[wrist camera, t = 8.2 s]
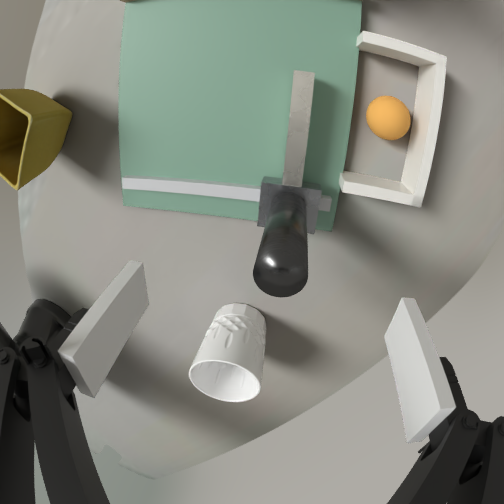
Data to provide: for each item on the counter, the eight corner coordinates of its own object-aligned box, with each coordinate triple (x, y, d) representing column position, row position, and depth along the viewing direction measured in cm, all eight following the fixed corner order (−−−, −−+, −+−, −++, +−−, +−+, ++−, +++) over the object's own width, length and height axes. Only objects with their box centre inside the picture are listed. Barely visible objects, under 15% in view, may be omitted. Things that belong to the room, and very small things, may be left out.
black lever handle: (260, 215, 28) (233, 296, 17) (274, 70, 21) (250, 46, 11) (313, 222, 28) (318, 309, 17) (333, 78, 21) (364, 60, 10)
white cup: (202, 326, 40) (180, 383, 31) (225, 288, 36) (203, 349, 27) (253, 350, 41) (240, 409, 32) (282, 316, 37) (274, 380, 28)
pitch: (128, 201, 32) (116, 211, 29) (132, -3, 20) (118, -9, 17) (330, 226, 30) (333, 238, 27) (359, -4, 18) (365, -14, 15)
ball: (366, 133, 25) (360, 135, 22) (371, 93, 23) (366, 89, 20) (406, 143, 24) (406, 147, 20) (412, 103, 21) (414, 100, 18)
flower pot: (29, 139, 29) (-20, 158, 22) (46, 80, 25) (-8, 88, 17) (67, 167, 31) (17, 192, 23) (89, 104, 27) (32, 116, 19)
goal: (337, 179, 27) (342, 192, 24) (354, 39, 20) (363, 30, 17) (407, 193, 27) (420, 207, 23) (428, 60, 19) (446, 56, 16)
